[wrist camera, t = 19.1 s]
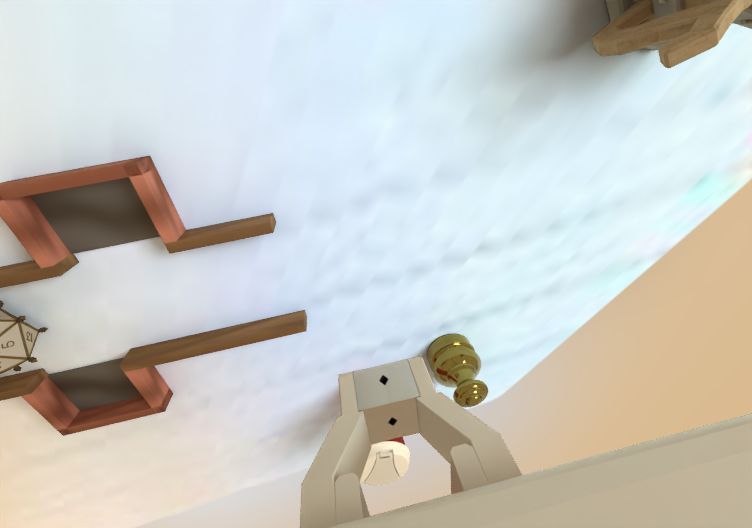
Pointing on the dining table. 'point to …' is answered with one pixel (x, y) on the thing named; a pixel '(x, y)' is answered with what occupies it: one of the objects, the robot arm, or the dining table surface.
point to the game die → (15, 341)
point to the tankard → (669, 26)
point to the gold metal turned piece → (457, 368)
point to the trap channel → (103, 229)
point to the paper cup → (386, 462)
